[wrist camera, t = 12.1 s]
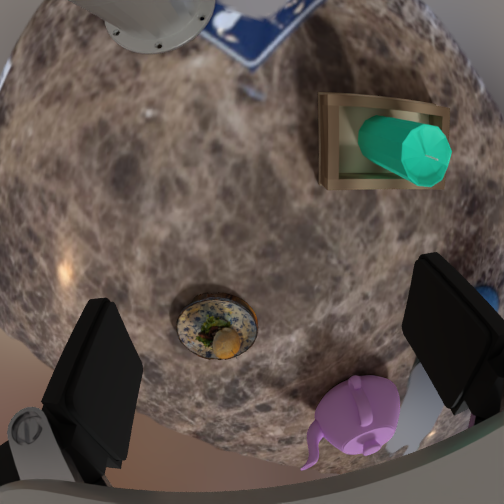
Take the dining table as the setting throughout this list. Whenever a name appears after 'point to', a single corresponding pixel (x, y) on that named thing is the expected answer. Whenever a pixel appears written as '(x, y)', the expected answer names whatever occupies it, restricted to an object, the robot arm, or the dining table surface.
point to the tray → (346, 138)
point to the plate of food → (217, 326)
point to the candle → (406, 148)
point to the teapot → (355, 416)
